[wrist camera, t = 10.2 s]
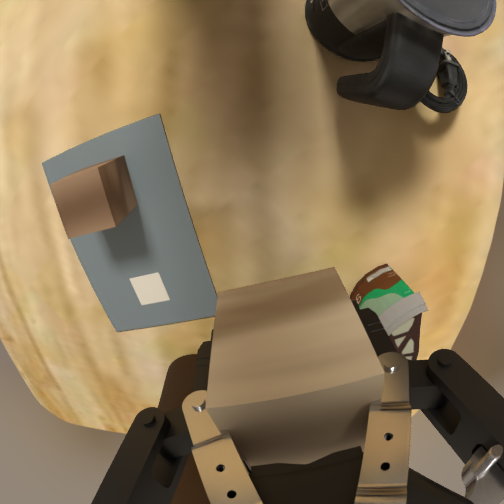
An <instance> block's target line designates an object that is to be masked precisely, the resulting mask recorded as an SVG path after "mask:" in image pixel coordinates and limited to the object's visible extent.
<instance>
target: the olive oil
mask: <svg viewBox="0 0 504 504" xmlns="http://www.w3.org/2000/svg"><path fill="white" fill-rule="evenodd" d="M196 361H197V354H192V355H186V356H183V357H180V358H178V359H176V360H175V361H174V362H172V364H171V365H170V367H169V369H168V372H167V375H166V379H165V383H164V387H163V391H162V394H161V398H160V402H159V405H158V408H159V409H160V410H162V412H163V413H165V412H168V411H170V410H173V409H176V408H178V407H180V406H182V404H183V401H184V399H185V398H186V397H187V396H188V395H189V394H191V393H192V387H193V380H194V374H195V368H196ZM171 504H210V501H209V498H208V496H207V493H206V490H205V488H204V485H203V482H202V480H201V477H200V474H199V471H198V468H197V465H196V462H195V459H194V456H193V453H190V455H189V457H188V460H187V463H186V465H185V468H184V470H183V473H182V476H181V478H180V481H179V483H178V486H177V489H176V491H175V494H174V496H173V499H172V501H171Z"/></svg>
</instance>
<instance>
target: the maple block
mask: <svg viewBox="0 0 504 504" xmlns="http://www.w3.org/2000/svg"><path fill="white" fill-rule="evenodd" d="M383 383H384V371H383V368H382V366H381V364H380V362H379V359H378V357H377V355H376V353H375V350H374V348H373V346H372V344H371V342H370V339H369V337H368V335H367V333H366V331H365V329H364V327H363V324H362V322H361V320H360V318H359V316H358V314H357V312H356V310H355V308H354V306H353V304H352V301H351V299H350V297H349V295H348V293H347V291H346V289H345V287H344V285H343V283H342V281H341V279H340V277H339V275H338V273H337V271H336V269H335V267H332V268H328V269H324V270H319V271H315V272H310V273H306V274H301V275H297V276H292V277H288V278H283V279H279V280H274V281H269V282H265V283H260V284H255V285H251V286H246V287H241V288H236V289H231V290H226V291H221V292H218V297H217V305H216V313H215V322H214V331H213V340H212V349H211V358H210V368H209V377H208V387H207V397H206V408H205V409H206V410H207V412H208V413H209V415H210V417H211V418H212V420H213V422H214V423H215V425H216V426H217V428H218V430H227V429H229V431H230V433H231V434H232V436H233V438H234V440H235V442H236V444H237V446H238V447H239V449H240V451H241V452H242V454H243V455H245V457H246V459H247V460H248V462H249V464H250V466H257V465H265V464H273V463H289V464H309V463H311V462H313V461H316V460H318V459H320V458H323V457H325V456H327V455H329V454H331V453H334V452H337V451H341V450H345V449H349V448H353V447H357V446H361V448H362V452H364V448H365V441H366V434H367V426H368V418H369V409H370V402H371V401H375V400H378V399H381V398H382V392H383Z"/></svg>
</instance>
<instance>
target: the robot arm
mask: <svg viewBox="0 0 504 504" xmlns="http://www.w3.org/2000/svg"><path fill="white" fill-rule="evenodd" d="M351 301H352V304H353V306H354V308H355V310H356V312H357V314H358V316H359V318H360V320H361V322H362V324H363V327H364V329H365V331H366V333H367V335H368V337H369V339H370V342H371V344H372V346H373V348H374V350H375V353H376V355H377V357H378V359H379V362H380V364H381V366H382V368H383V371H384V383H383V392H382V398H381V399H378V400H375V401H371V402H370V409H369V418H368V426H367V434H366V441H365V448H364V452H362V448H361V446H357V447H353V448H349V449H345V450H341V451H337V452H334V453H331V454H329V455H327V456H325V457H323V458H320V459H318V460H316V461H313V462H311V463H309V464H289V463H273V464H265V465H257V466H250V464H249V462H248V460H247V459H246V457H245V455H243V454H242V452H241V451H240V449H239V447H238V446H237V444H236V442H235V440H234V438H233V436H232V434H231V433H230V431H229V429H227V430H218V428H217V426H216V425H215V423H214V422H213V420H212V418H211V417H210V415H209V413H208V412H207V410H206V409H205V408H206V397H207V387H208V377H209V368H210V358H211V349H212V340H213V331H214V329H213V330H212V335H211V341H206V342H203V343H202V345H201V346H200V348H199V350H198V354H197V361H196V368H195V374H194V380H193V387H192V393H191V394H189V395H188V396H187V397H186V398H185V399H184V401H183V404H182V406H180V407H178V408H176V409H173V410H170V411H168V412H165V413H163V412H162V410H160V409H159V408H155V407H150V408H146V409H144V410H142V411H141V412H139V413H138V414H137V416H136V417H135V419H134V421H133V423H132V425H131V427H130V429H129V431H128V433H127V434H126V436H125V439H124V440H123V442H122V444H121V446H120V448H119V450H118V452H117V454H116V456H115V458H114V460H113V462H112V464H111V466H110V468H109V469H108V471H107V473H106V475H105V478H104V479H103V482H102V483H101V485H100V487H99V490H98V491H97V493H96V496H95V498H94V499H93V501H92V503H91V504H171V501H172V499H173V496H174V494H175V491H176V489H177V486H178V483H179V481H180V478H181V476H182V473H183V470H184V468H185V465H186V463H187V460H188V457H189V455H190V453H193V456H194V459H195V462H196V465H197V468H198V471H199V474H200V477H201V480H202V482H203V485H204V488H205V490H206V493H207V496H208V498H209V501H210V504H499V503H500V502H501V501H502V500H503V499H504V398H503V397H502V396H501V395H500V394H499V393H498V392H497V391H496V390H495V389H494V388H493V387H492V386H491V385H490V384H489V383H488V382H486V380H484V379H483V378H482V377H481V376H480V375H479V374H478V373H477V372H476V371H475V370H474V369H473V368H472V367H471V366H470V365H469V364H468V363H466V361H464V360H463V359H462V358H461V357H460V356H459V355H458V354H457V353H456V352H454V351H452V350H449V349H440V350H437V351H435V352H434V353H432V354H431V356H430V357H429V360H409V359H406V357H405V356H403V355H402V354H400V353H397V351H396V349H395V347H394V345H393V343H392V342H391V340H390V338H389V336H388V334H387V332H386V330H385V329H384V326H383V325H382V323H381V321H380V319H379V317H378V315H377V314H376V313H375V312H374V311H372V310H371V309H370V308H364V309H361V310H360V308H359V306H358V304H357V302H356V300H351ZM411 409H421V411H422V412H423V413H424V414H425V416H426V417H427V418H428V419H429V420H430V422H431V423H432V424H433V425H434V427H435V428H436V429H437V430H438V431H439V433H440V434H441V435H442V436H443V438H444V439H445V440H446V441H447V443H448V444H449V445H450V446H451V447H452V449H453V450H454V451H455V452H456V454H457V455H458V456H459V457H460V458H461V460H462V461H463V462H464V463H465V466H464V467H463V470H462V481H463V483H464V485H465V488H466V494H465V497H463V496H461V495H459V494H457V493H455V492H453V491H451V490H449V489H447V488H445V487H444V486H442V485H440V484H438V483H436V482H434V481H432V480H430V479H429V478H426V477H425V476H423V475H421V474H420V473H418V472H416V471H414V470H413V469H411V468H409V456H410V440H411V439H410V438H411Z"/></svg>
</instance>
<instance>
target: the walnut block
mask: <svg viewBox="0 0 504 504" xmlns="http://www.w3.org/2000/svg"><path fill="white" fill-rule="evenodd" d="M50 187H51V190H52V193H53V196H54V199H55V202H56V206H57V209H58V211H59V214H60V217H61V220H62V223H63V226H64V228H65V231H66V234H67V237H68V239H70V238H74V237H78V236H81V235H85V234H89V233H93V232H97V231H101V230H105V229H109V228H113V227H116V226H117V225H118V224H119V223H120V222H121V221H122V220H123V219H124V218H125V217H126V216H127V215H128V214H129V213H130V212H131V211H132V210H133V209H134V208H135V207H136V206H137V205H138V203H137V199H136V196H135V193H134V189H133V186H132V182H131V178H130V175H129V171H128V167H127V164H126V160H125V156H124V155H123V156H120V157H116V158H113V159H110V160H107V161H104V162H101V163H98V164H95V165H92V166H89V167H86V168H83V169H81V170H79V171H76V172H74V173H72V174H70V175H68V176H66V177H64V178H62V179H60V180H58V181H56V182H54V183H52V184H50Z"/></svg>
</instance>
